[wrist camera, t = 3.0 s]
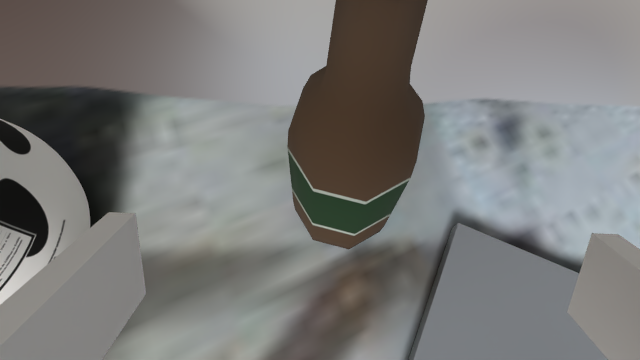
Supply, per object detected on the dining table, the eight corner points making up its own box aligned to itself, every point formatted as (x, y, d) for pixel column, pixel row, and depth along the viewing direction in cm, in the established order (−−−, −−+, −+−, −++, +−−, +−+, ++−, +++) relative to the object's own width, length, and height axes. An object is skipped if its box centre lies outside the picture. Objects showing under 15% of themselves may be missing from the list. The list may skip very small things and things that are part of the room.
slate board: (654, 314, 31) (671, 312, 29) (632, 528, 25) (652, 538, 24) (451, 228, 33) (458, 222, 32) (392, 407, 28) (397, 409, 26)
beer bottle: (378, 159, 35) (487, -166, 14) (396, 245, 32) (577, 2, 10) (289, 169, 35) (254, -155, 13) (299, 258, 32) (276, 27, 10)
